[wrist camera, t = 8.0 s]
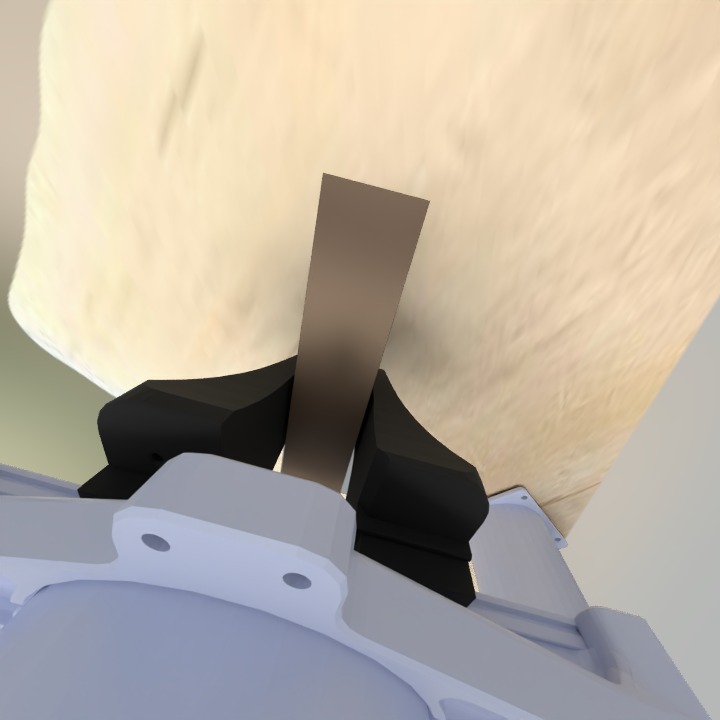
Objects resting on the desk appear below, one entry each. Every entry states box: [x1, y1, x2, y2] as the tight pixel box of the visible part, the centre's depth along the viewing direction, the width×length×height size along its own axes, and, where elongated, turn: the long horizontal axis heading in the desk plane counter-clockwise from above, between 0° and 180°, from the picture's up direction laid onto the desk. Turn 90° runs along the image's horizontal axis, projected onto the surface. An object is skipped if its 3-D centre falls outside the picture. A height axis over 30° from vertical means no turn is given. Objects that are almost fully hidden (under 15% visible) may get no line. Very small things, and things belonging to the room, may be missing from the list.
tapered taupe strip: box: [281, 173, 430, 493], centre depth 11 cm, size 14×2×6 cm, turn 167°
